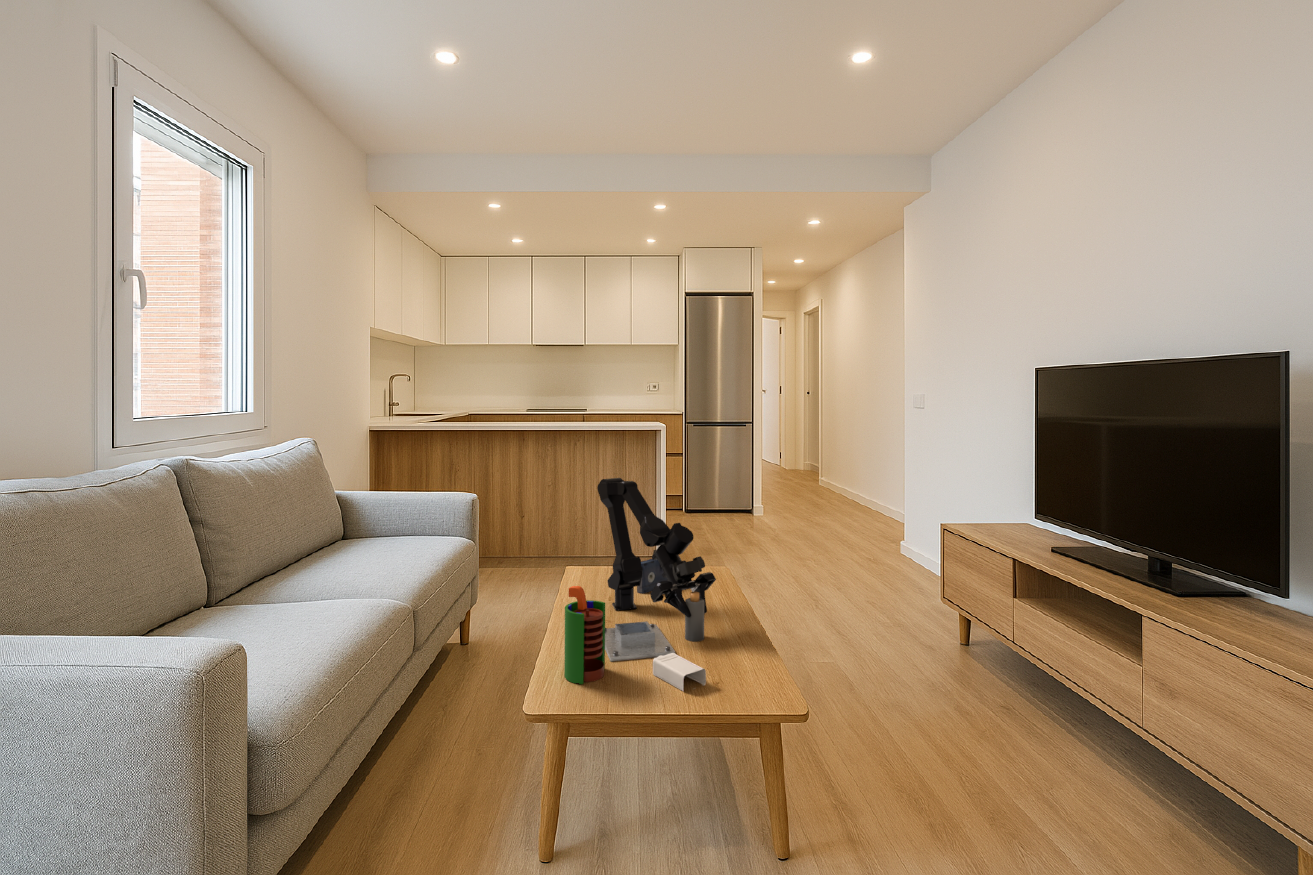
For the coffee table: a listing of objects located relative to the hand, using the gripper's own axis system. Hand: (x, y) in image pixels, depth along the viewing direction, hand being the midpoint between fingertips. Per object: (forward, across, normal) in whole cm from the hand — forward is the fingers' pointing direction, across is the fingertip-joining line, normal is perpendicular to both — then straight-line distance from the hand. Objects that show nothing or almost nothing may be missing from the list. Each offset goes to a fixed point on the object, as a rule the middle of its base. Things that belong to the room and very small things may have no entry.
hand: (698, 614), depth 171 cm
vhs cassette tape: (-27, +21, +37) cm, 50 cm away
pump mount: (-1, -15, +10) cm, 18 cm away
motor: (+6, -35, +4) cm, 35 cm away
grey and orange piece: (+4, 0, +6) cm, 7 cm away
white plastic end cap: (+16, -19, -6) cm, 26 cm away
